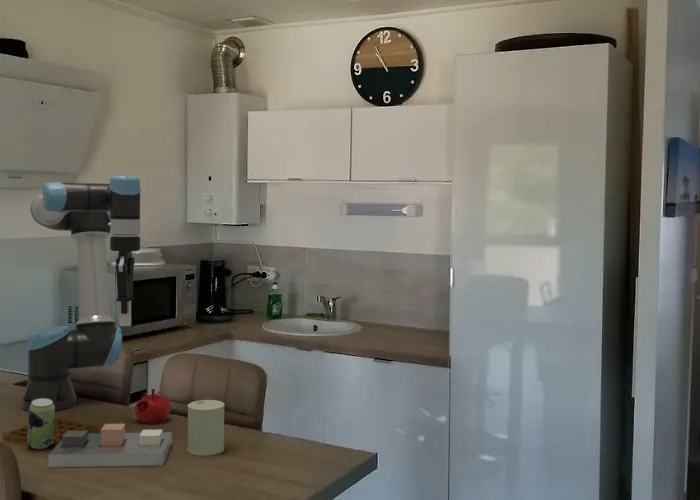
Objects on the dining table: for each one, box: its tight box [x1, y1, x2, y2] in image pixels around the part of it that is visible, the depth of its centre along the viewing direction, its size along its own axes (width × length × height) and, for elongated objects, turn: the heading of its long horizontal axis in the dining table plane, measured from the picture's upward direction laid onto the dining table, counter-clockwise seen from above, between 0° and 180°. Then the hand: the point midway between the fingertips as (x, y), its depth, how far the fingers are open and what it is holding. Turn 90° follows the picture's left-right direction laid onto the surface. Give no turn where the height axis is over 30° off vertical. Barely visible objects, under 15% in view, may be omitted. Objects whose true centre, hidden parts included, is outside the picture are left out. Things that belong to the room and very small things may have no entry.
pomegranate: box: [134, 388, 172, 425], centre depth 215 cm, size 10×10×9 cm
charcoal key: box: [61, 430, 89, 447], centre depth 185 cm, size 5×5×5 cm
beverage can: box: [26, 398, 56, 450], centre depth 191 cm, size 6×7×12 cm
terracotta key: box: [100, 423, 126, 447], centre depth 186 cm, size 5×5×5 cm
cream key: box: [139, 429, 163, 446], centre depth 187 cm, size 5×5×5 cm
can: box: [186, 399, 226, 457], centre depth 191 cm, size 9×9×12 cm
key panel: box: [48, 431, 173, 469], centre depth 186 cm, size 16×26×3 cm, turn 96°
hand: (125, 325), depth 200 cm, fingers closed
